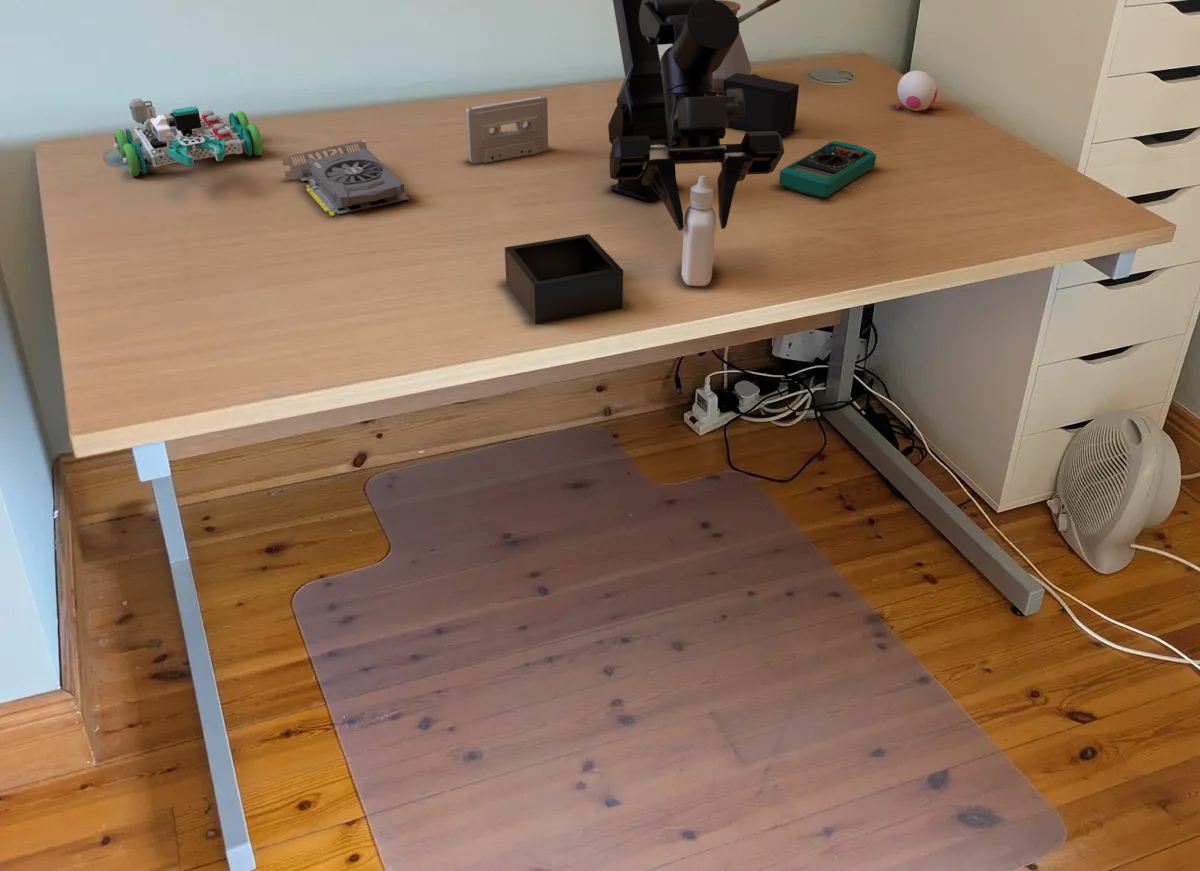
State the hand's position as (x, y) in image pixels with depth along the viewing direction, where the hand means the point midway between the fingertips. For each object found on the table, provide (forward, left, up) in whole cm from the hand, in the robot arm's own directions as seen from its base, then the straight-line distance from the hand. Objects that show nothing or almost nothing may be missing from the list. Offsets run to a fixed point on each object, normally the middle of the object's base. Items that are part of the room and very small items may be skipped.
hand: (702, 228), depth 124 cm
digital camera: (-22, +49, -7) cm, 54 cm away
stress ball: (-7, +72, -7) cm, 73 cm away
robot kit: (-73, -14, -7) cm, 75 cm away
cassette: (-43, +16, -7) cm, 46 cm away
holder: (-10, -12, -7) cm, 17 cm away
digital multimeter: (-4, +37, -7) cm, 38 cm away
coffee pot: (-36, +66, -7) cm, 75 cm away
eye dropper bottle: (-1, +1, -7) cm, 7 cm away
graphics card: (-51, -7, -7) cm, 52 cm away
